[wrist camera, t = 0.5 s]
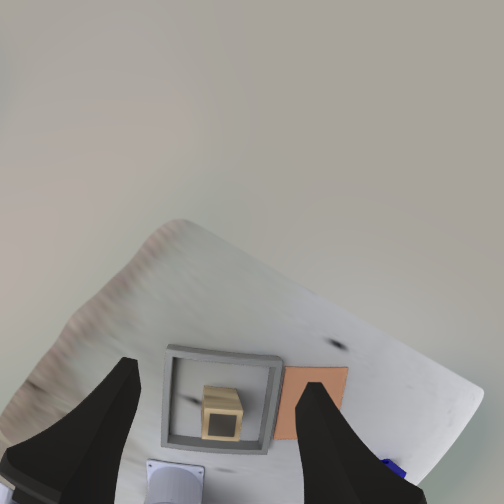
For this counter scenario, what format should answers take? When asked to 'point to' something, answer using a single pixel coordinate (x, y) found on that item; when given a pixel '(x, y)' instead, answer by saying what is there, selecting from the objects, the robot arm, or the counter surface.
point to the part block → (221, 414)
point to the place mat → (294, 388)
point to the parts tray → (219, 445)
